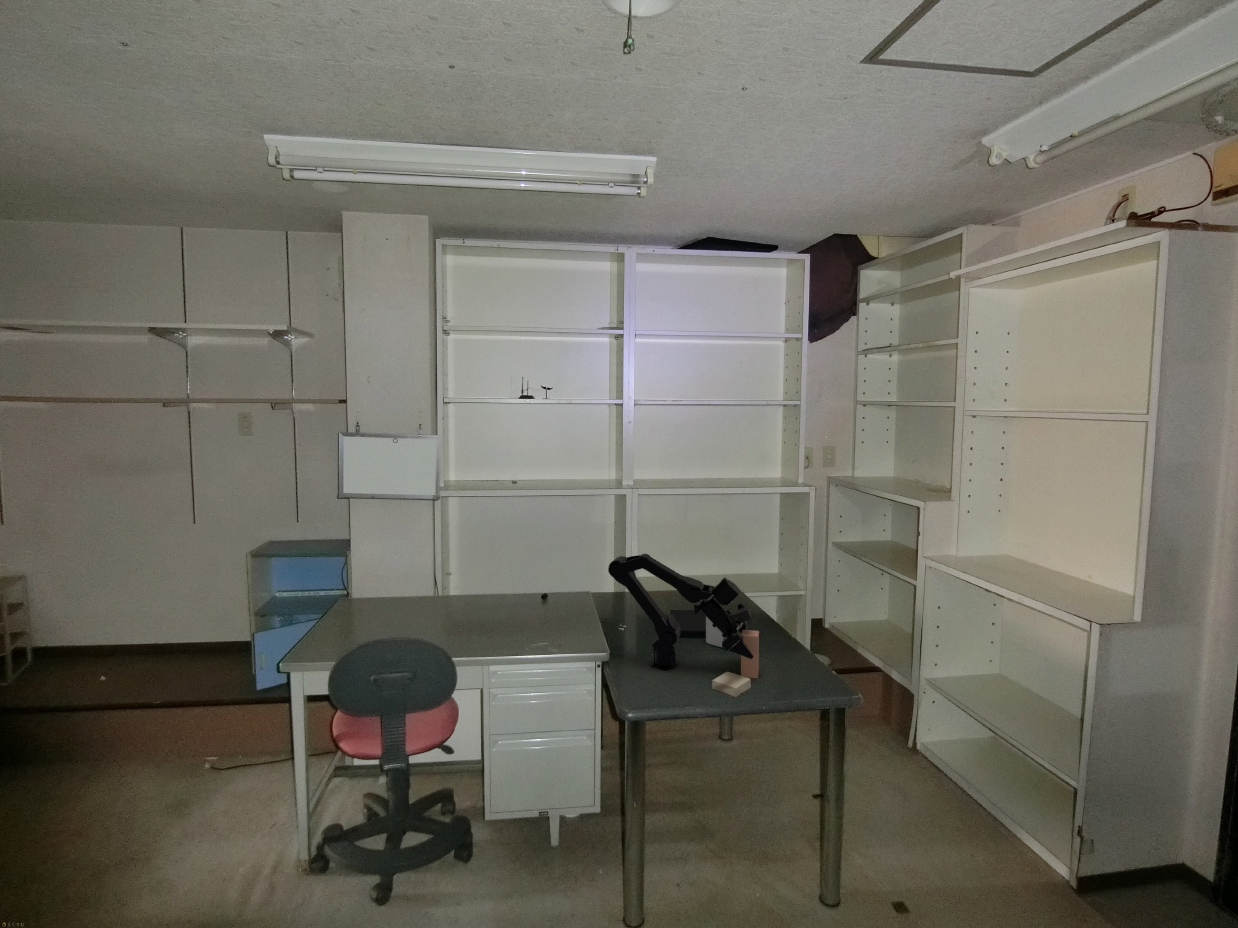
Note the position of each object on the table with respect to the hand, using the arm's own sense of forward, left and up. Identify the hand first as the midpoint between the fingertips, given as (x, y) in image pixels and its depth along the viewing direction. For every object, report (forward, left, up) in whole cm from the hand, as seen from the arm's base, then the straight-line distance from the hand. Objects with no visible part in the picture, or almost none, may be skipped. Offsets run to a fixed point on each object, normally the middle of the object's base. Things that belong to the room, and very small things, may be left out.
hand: (753, 652), depth 193 cm
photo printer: (-21, +13, -7) cm, 26 cm away
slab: (0, -13, -7) cm, 15 cm away
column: (-1, 0, -7) cm, 7 cm away
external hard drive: (-40, +21, -8) cm, 46 cm away
